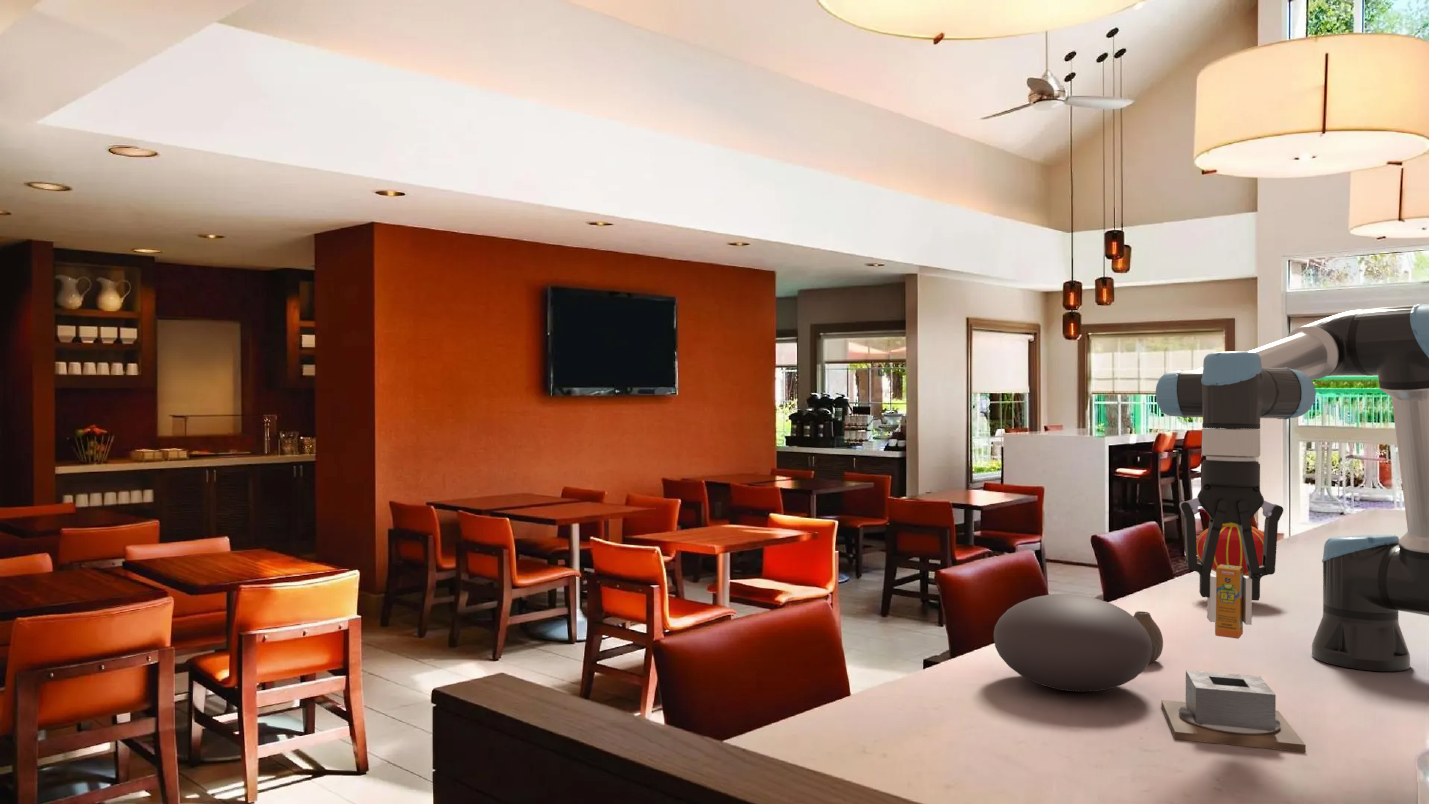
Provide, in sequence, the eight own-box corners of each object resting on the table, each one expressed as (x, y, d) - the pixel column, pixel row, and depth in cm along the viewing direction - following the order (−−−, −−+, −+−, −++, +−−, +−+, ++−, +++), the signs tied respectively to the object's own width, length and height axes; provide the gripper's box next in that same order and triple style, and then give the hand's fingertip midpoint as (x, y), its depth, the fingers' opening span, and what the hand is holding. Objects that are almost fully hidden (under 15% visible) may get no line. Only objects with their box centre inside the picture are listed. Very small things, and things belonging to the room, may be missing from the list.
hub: (1269, 712, 148) (1269, 674, 148) (1290, 740, 136) (1290, 698, 136) (1173, 703, 152) (1173, 666, 152) (1185, 729, 140) (1185, 689, 140)
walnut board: (1278, 717, 149) (1278, 710, 149) (1305, 752, 134) (1305, 744, 134) (1161, 706, 154) (1161, 700, 154) (1174, 739, 139) (1174, 731, 139)
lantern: (1184, 592, 251) (1185, 473, 252) (1258, 595, 249) (1259, 474, 249) (1208, 605, 234) (1209, 478, 235) (1287, 608, 232) (1288, 479, 232)
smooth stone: (1145, 675, 172) (1146, 588, 173) (1159, 716, 149) (1159, 616, 149) (997, 661, 180) (998, 579, 181) (987, 699, 157) (988, 604, 157)
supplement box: (1213, 636, 144) (1214, 566, 144) (1218, 632, 146) (1219, 563, 146) (1239, 639, 142) (1239, 568, 142) (1243, 635, 144) (1244, 566, 144)
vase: (1167, 666, 178) (1167, 617, 178) (1126, 664, 180) (1126, 615, 180) (1158, 657, 185) (1158, 609, 185) (1118, 654, 187) (1118, 607, 187)
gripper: (1290, 459, 145) (1289, 620, 145) (1163, 456, 150) (1162, 612, 150) (1303, 461, 138) (1302, 631, 138) (1169, 458, 143) (1168, 622, 143)
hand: (1229, 621), depth 144 cm, fingers closed on supplement box, 4 cm apart
